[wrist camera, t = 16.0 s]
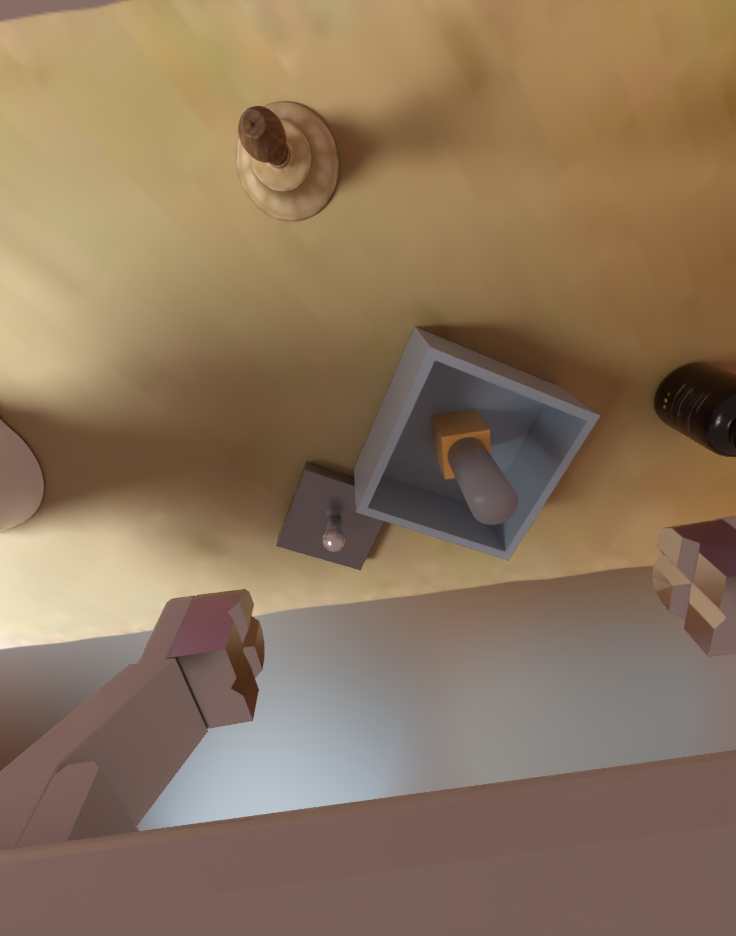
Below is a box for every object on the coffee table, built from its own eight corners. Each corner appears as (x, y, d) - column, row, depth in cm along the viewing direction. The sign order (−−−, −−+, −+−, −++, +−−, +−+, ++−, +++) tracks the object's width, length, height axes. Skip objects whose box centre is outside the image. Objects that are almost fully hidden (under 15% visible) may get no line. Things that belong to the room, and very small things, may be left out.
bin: (353, 468, 52) (356, 512, 44) (414, 326, 46) (430, 347, 38) (484, 512, 55) (508, 560, 47) (557, 385, 49) (600, 415, 41)
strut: (431, 415, 49) (463, 483, 36) (474, 408, 49) (523, 474, 36) (434, 454, 51) (467, 533, 38) (476, 448, 51) (523, 524, 37)
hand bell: (234, 212, 41) (177, 202, 27) (238, 92, 37) (174, 6, 23) (332, 229, 42) (327, 228, 27) (345, 113, 38) (347, 43, 24)
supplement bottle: (727, 361, 49) (836, 398, 38) (705, 424, 52) (801, 475, 41) (661, 361, 48) (752, 398, 38) (643, 424, 51) (723, 476, 41)
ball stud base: (278, 535, 55) (271, 570, 50) (306, 461, 51) (302, 490, 46) (359, 559, 57) (361, 596, 52) (392, 490, 53) (398, 521, 48)
